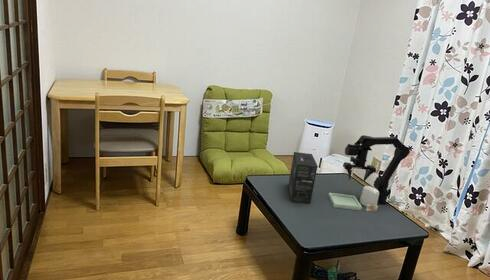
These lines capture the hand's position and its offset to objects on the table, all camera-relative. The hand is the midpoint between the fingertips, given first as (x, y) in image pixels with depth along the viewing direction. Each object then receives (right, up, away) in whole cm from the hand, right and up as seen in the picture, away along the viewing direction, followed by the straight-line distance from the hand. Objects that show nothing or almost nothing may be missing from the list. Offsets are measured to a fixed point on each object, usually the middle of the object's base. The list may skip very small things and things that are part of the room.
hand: (356, 180), depth 231 cm
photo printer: (+6, -15, -3) cm, 17 cm away
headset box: (-35, -9, +1) cm, 37 cm away
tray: (-9, -13, -3) cm, 16 cm away
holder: (+6, -15, -3) cm, 17 cm away
